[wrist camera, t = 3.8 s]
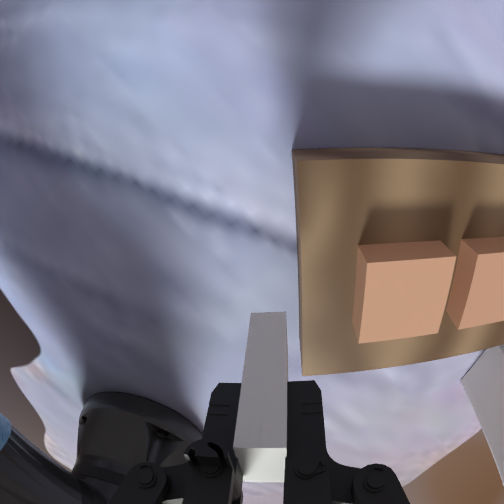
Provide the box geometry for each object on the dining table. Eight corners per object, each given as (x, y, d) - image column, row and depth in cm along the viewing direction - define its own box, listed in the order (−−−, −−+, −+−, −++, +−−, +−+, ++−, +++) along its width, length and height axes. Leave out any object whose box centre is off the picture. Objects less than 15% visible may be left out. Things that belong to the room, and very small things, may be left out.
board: (299, 338, 24) (302, 376, 21) (291, 149, 18) (296, 160, 15) (492, 314, 22) (513, 341, 19) (524, 157, 16) (558, 171, 13)
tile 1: (445, 310, 18) (458, 329, 16) (461, 239, 16) (478, 254, 14) (500, 301, 17) (514, 318, 15) (518, 235, 15) (535, 249, 13)
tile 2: (352, 321, 18) (358, 343, 17) (357, 245, 16) (367, 262, 14) (426, 313, 18) (437, 333, 16) (440, 240, 16) (456, 256, 14)
